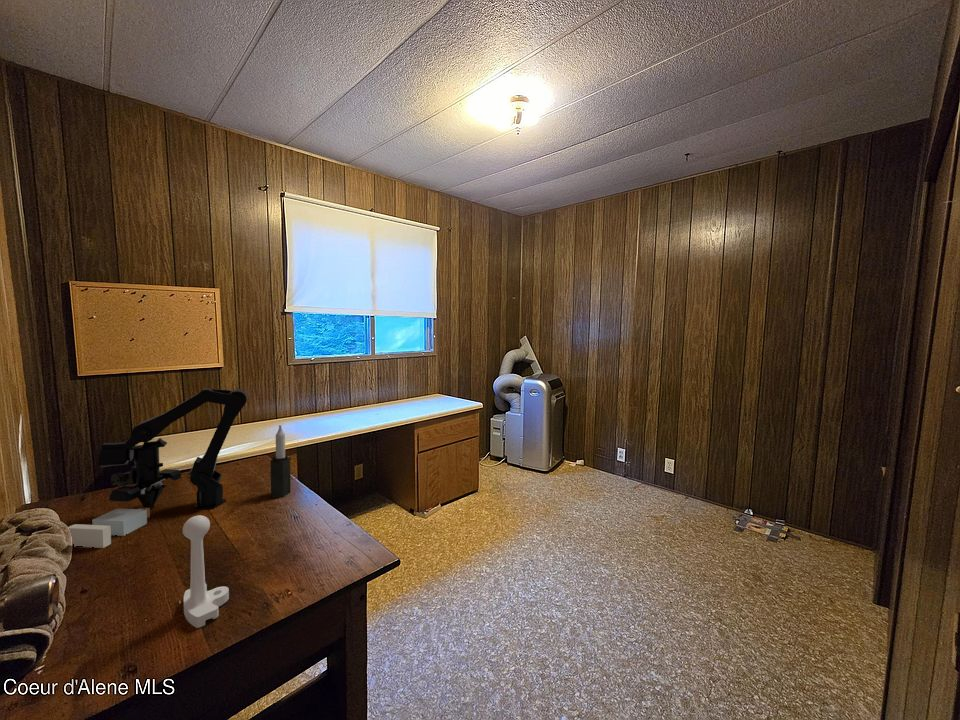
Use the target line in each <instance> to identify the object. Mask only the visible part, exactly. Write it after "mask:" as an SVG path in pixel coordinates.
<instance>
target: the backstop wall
mask: <svg viewBox="0 0 960 720" xmlns="http://www.w3.org/2000/svg"><path fill="white" fill-rule="evenodd" d="M68 528H69V530H70V533H71V536H72V540H73V544H74V548H75V547H76V546H83V547H82V548H92V547H94V549H97V548H98V549H104V548H106V547H108V546H110V545H111V544H112V535H111V527H110V526H105V525H92V524H84V523H83V524H78V523H77V524H76V523H75V524H72V525H69V526H68ZM76 548H77V547H76Z"/></svg>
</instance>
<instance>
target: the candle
mask: <svg viewBox="0 0 960 720" xmlns="http://www.w3.org/2000/svg"><path fill="white" fill-rule="evenodd" d="M290 492H291V457H289V456H288V455H286V434H285V432H284V431H283V427H282V424H279V425H278V430H277V432H276V434H275V456H274V457H272V459H271V460H270V497H271V496H272V497H273V498H279V497H281V498H284V497H285V495H286V496H287V495H289V494H288V493H290ZM290 494H291V493H290Z"/></svg>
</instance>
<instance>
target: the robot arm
mask: <svg viewBox="0 0 960 720" xmlns="http://www.w3.org/2000/svg"><path fill="white" fill-rule="evenodd" d="M248 396H249V395H248V393H247V392H246V390H244V389H242V388H234V389H232V390H230V389H217V388H216V389H215V388H213V389H212V388H210V387H207V388H206V387H205V388H203V389H202V390H201V391H199V392H198V393H196V394H195V395H193V396H191V397H189V398H188V399H186V400H184V401H182V402H181V403H179V404H177V405H176V406H174V407H173V408H171V409H169V410H168V411H166V412H164V413H161V414H158V415H155V416H153V417H150V418H147V419H146V420H143V421H141V422H140V423H138V424H137V425H135V426H133V428H132V429H131V433H130V434H131V436H130V438H128V439H127V440H126V441H124V442H123V441H121V442H105V443H103V444H101V446H100V447H101V449H100V451H99V456H98V459H97V460H98V465H99V467H100V468H105V467H112V466H113V467H115V466H124V465H128V464H129V462H131V461H133V460H134V466H131V467H130V469H129V471H127V472H125V473H123V472H122V471H120V472H117V473H114V474H111V476H110V482H111V484H112V485H113V486H117V485H118V487H117V488H115V489H113V490H112V491H110V492H109V494H108V495H109V496H108V497H109V498H108V499H109V500H108V501H110V502H126V503H127V502H130V501H131V502H132V501H134V500H135V499H138V500H139V502H140V503H141V505H142V508H150V512H151V511H152V510H153V508H154V506H155V504H156V502H157V500H158V499H159V497H160V496H161V494H162V492H163V491H164V489H165V488H167V485H166V484H163V483H162V482H163V481H167V480H168V479H170V480H171V481H172V482H175V481H177V480H179V479H181V478H182V472H181V471H180V470H179V469H173V468H172V469H171V468H170V469H169V468H166V469H162V470H160V468H162V467H163V466H164V463H163V462H160V448H165V446H166V445H167V444H168V442H167V441H166V440H164V439H162V438H161V437H160V438H158V439H157V440H155V441H154V438H156V437H157V436H158V435H159V434H160V433H162V432H163V431H165V429H166V428H167V427H169V426H170V425H171V424H173V423H174V422H176V421H177V420H179V419H182V418H183V417H184V416H186V415H187V414H189V413H191V412H192V411H194V410H196V409H197V408H199V407H201V406H203V405H204V404H206V403H213V404H218V405H223V406H224V407H223V412H222V416H221V419H220V421H219V422H218V425H217V427H216V428H215V432H214V434H213V436H212V437H211V440H210V443H209V445H208V447H207V449H206V451H205V453H204V455H203V456H202V457H200V456H197V457H196V458H195V460H194V462H193V464H192V467H191V468H190V471H189V473H188V475H189V481H190V483H191V484H192V485H193V486H195V487H196V488H197V491H196V505H194V506H193V508H194V509H205V510H206V509H207V510H208V509H209V510H212V509H215V508H217V507H218V506H220V505H222V504H223V503H225V502H226V501H227V499H226V498H224V487H223V486H224V485H223V484H221V483H220V482H221V480H222V477H223V474H221V473H220V472H219V471H217V470H216V465H217V462H218V456H219V454H220V451H221V450H222V447H223V445H224V442H225V440H226V439H227V435H228V434H229V433H230V429H231V427H232V425H233V423H234V421H235V419H236V418H237V416H238V415H239V414H240V412H241V411H242V409H243V408H244V406H245V405H246V403H247V400H248V398H249V397H248ZM152 440H153V441H152ZM140 443H143V444H140ZM126 484H128V486H127V485H126ZM130 485H132V486H130ZM133 485H134V486H133Z"/></svg>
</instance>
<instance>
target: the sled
mask: <svg viewBox="0 0 960 720" xmlns="http://www.w3.org/2000/svg"><path fill="white" fill-rule="evenodd" d="M91 520H92V524H91V525H105V526H110V527H111V536H115V535H117V536H118V537H120V536H121V537H124V536H127V535H128V534H130V533H132V532H134V531H136V530H137V529H139V528H141V527H143V526H145V525H147V524H148V518H147V510H141V509H138V508H115V509H113V510H111V511H109V512H106V513H104V514H102V515H99V516H97V517H95V518H93V519H91ZM126 534H127V535H126Z"/></svg>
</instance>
